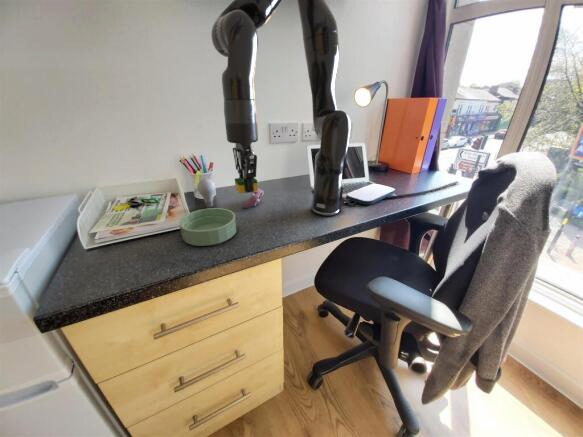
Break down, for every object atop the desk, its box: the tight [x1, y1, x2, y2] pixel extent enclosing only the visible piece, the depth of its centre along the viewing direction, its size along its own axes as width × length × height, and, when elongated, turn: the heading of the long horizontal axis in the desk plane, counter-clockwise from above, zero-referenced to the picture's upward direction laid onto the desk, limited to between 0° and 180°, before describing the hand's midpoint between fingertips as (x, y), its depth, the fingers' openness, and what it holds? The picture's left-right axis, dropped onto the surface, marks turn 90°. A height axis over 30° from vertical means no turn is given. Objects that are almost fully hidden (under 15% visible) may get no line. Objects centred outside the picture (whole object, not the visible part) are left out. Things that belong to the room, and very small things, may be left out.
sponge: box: [234, 177, 259, 195], centre depth 63 cm, size 5×4×3 cm
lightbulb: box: [196, 178, 217, 209], centre depth 84 cm, size 6×6×11 cm
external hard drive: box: [345, 183, 396, 206], centre depth 98 cm, size 24×12×2 cm, turn 132°
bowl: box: [178, 207, 238, 247], centre depth 69 cm, size 15×15×5 cm
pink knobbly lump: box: [242, 188, 265, 209], centre depth 89 cm, size 10×5×7 cm, turn 168°
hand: (246, 189), depth 64 cm, fingers closed on sponge, 4 cm apart
